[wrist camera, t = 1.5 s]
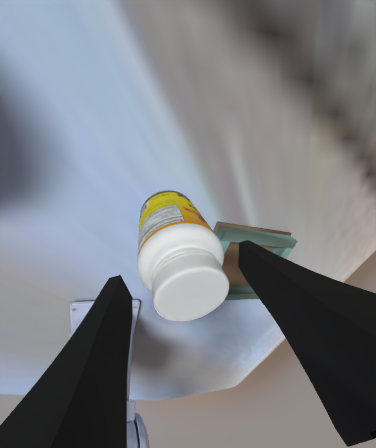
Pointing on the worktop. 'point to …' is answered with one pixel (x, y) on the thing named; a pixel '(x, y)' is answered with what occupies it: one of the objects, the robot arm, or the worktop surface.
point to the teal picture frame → (230, 241)
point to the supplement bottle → (180, 258)
